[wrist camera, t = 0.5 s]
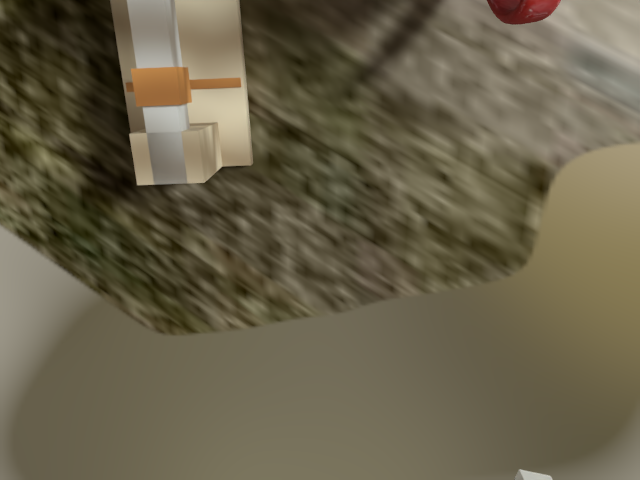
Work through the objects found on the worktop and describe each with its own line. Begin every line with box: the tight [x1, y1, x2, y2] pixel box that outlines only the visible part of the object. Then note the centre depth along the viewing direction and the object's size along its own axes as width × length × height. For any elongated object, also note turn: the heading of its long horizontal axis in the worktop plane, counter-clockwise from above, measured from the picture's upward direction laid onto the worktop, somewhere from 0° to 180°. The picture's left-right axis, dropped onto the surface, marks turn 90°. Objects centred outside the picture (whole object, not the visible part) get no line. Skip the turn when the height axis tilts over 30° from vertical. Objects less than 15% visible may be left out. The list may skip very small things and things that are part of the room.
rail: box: [110, 0, 253, 185], centre depth 30 cm, size 18×8×7 cm, turn 2°
